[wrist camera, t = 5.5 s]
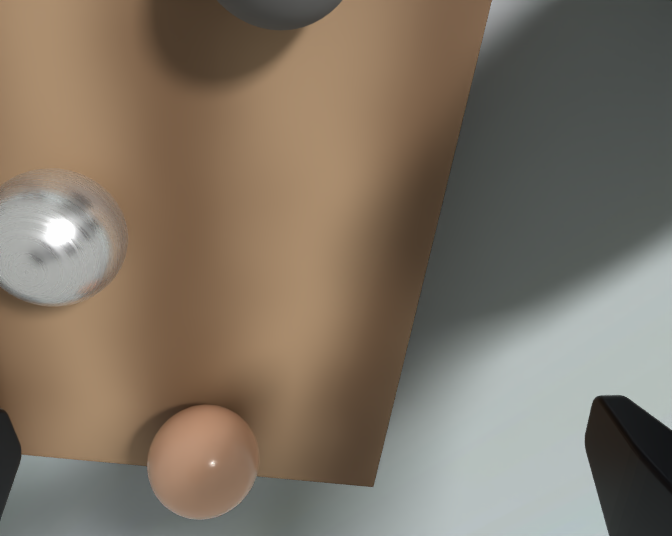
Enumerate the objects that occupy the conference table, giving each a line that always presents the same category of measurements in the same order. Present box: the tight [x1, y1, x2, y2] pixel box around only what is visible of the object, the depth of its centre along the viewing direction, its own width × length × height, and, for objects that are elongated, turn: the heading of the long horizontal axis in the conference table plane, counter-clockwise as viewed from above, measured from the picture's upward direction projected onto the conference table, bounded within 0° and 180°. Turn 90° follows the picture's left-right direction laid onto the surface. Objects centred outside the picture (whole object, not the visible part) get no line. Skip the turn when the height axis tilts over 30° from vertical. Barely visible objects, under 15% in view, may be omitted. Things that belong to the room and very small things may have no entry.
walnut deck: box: [0, 0, 492, 487], centre depth 18 cm, size 22×20×3 cm
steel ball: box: [0, 168, 128, 306], centre depth 16 cm, size 4×4×4 cm
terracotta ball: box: [147, 404, 259, 520], centre depth 20 cm, size 4×4×4 cm
